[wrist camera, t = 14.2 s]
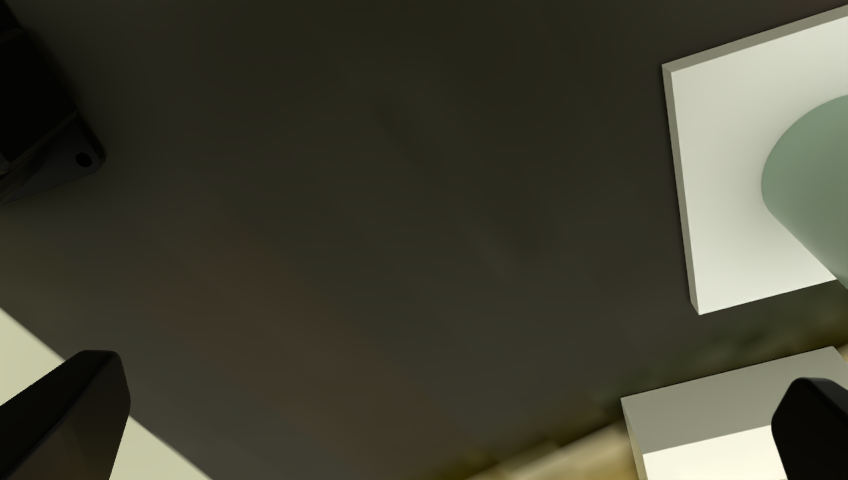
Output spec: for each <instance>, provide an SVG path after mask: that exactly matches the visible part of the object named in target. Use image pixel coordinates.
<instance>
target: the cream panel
mask: <svg viewBox="0 0 848 480" xmlns="http://www.w3.org/2000/svg"><path fill="white" fill-rule="evenodd" d="M662 71H663V79H664V88H665V96H666V104H667V112H668V120H669V128H670V136H671V144H672V152H673V161H674V169H675V177H676V185H677V193H678V201H679V209H680V217H681V225H682V234H683V242H684V250H685V258H686V266H687V274H688V282H689V290H690V299H691V303H692V304H693V306H694V308H695V309H696V311H697V312H698V314H699V315H701V314H704V313H708V312H712V311H716V310H720V309H724V308H727V307H731V306H735V305H739V304H743V303H747V302H750V301H754V300H758V299H762V298H766V297H770V296H773V295H777V294H781V293H785V292H789V291H793V290H796V289H800V288H804V287H808V286H812V285H816V284H819V283H823V282H827V281H831V280H835V279H837V278H836V277H835V276H834V275H833V274H832V273H831V272H830V271H829V270H828V269H827V268H825V267H824V266H823V265H822V264H821V263H820V262H819V261H818V260H817V259H816V258H815V257H814V256H813V255H812V254H811V253H810V252H809V251H808V250H807V249H806V248H805V247H804V246H803V245H802V244H801V243H800V242H799V241H798V240H797V239H796V238H795V237H794V236H793V235H792V234H791V233H790V232H789V231H788V230H787V229H786V228H785V227H784V226H783V225H782V224H781V223H780V222H779V221H778V220H777V219H776V218H775V217H774V216H773V215H772V214H771V213H770V212H769V210H768V209H767V207H766V205H765V203H764V200H763V196H762V190H761V182H762V174H763V170H764V167H765V164H766V162H767V159H768V157H769V155H770V153H771V151H772V149H773V148H774V146H775V145H776V143H777V142H778V141H779V139H780V138H781V137H782V136H783V134H784V133H785V132H786V131H787V130H788V129H789V128H790V127H791V126H792V125H793V124H794V123H795V122H796V121H798V120H799V119H800V118H801V117H803V116H804V115H805V114H807V113H808V112H810V111H811V110H813V109H814V108H816V107H818V106H820V105H822V104H824V103H826V102H828V101H830V100H833V99H835V98H838V97H841V96H845V95H848V5H845V6H842V7H839V8H836V9H833V10H829V11H826V12H823V13H820V14H817V15H814V16H811V17H808V18H805V19H802V20H799V21H795V22H792V23H789V24H786V25H783V26H780V27H777V28H774V29H771V30H768V31H764V32H761V33H758V34H755V35H752V36H749V37H746V38H743V39H740V40H737V41H734V42H730V43H727V44H724V45H721V46H718V47H715V48H712V49H709V50H706V51H703V52H700V53H696V54H693V55H690V56H687V57H684V58H681V59H678V60H675V61H672V62H669V63H665V64H662Z"/></svg>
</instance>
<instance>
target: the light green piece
mask: <svg viewBox="0 0 848 480" xmlns="http://www.w3.org/2000/svg"><path fill="white" fill-rule="evenodd" d="M761 190H762V196H763V200H764V203H765V205H766V207H767V209H768V210H769V212H770V213H771V214H772V215H773V216H774V217H775V218H776V219H777V220H778V221H779V222H780V223H781V224H782V225H783V226H784V227H785V228H786V229H787V230H788V231H789V232H790V233H791V234H792V235H793V236H794V237H795V238H796V239H797V240H798V241H799V242H800V243H801V244H802V245H803V246H804V247H805V248H806V249H807V250H808V251H809V252H810V253H811V254H812V255H813V256H814V257H815V258H816V259H817V260H818V261H819V262H820V263H821V264H822V265H823V266H824V267H825V268H827V269H828V270H829V271H830V272H831V273H832V274H833V275H834V276H835V277H836V278H837V279H838V280H839V281H840V282H841V283H842V284H843V285H844V286H845V287H846V288H847V289H848V95H845V96H841V97H838V98H835V99H833V100H830V101H828V102H826V103H824V104H822V105H820V106H818V107H816V108H814V109H813V110H811V111H810V112H808V113H807V114H805V115H804V116H803V117H801V118H800V119H799V120H798V121H796V122H795V123H794V124H793V125H792V126H791V127H790V128H789V129H788V130H787V131H786V132H785V133H784V134H783V136H782V137H781V138H780V139H779V141H778V142H777V143H776V145H775V146H774V148H773V149H772V151H771V153H770V155H769V157H768V159H767V162H766V164H765V167H764V170H763V174H762V182H761Z"/></svg>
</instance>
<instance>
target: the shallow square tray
mask: <svg viewBox="0 0 848 480" xmlns="http://www.w3.org/2000/svg"><path fill="white" fill-rule="evenodd" d="M799 377H817V378H827V379H830V380H832V381H834V382H836V383H837V384H839V385H841V386H842V387H844V388H845V389H847V390H848V363H847V362H846V361H845V360H844V359H843V357H842V356H841V355H840V354H839V353H838V352H837V350H836V349H835V348H834V347H833V346H830V347H826V348H822V349H818V350H814V351H810V352H806V353H802V354H798V355H794V356H790V357H786V358H782V359H778V360H773V361H769V362H765V363H761V364H757V365H753V366H749V367H745V368H741V369H737V370H733V371H729V372H725V373H721V374H716V375H712V376H708V377H704V378H700V379H696V380H692V381H688V382H684V383H680V384H676V385H672V386H668V387H664V388H659V389H655V390H651V391H647V392H643V393H639V394H635V395H631V396H627V397H623V398H620V399H621V403H622V408H623V412H624V416H625V421H626V425H627V430H628V434H629V438H630V443H631V447H632V451H633V456H634V460H635V464H636V469H637V473H638V477H639V480H788V479H787V477H786V474H785V471H784V468H783V465H782V462H781V459H780V457H779V454H778V451H777V448H776V445H775V442H774V439H773V436H772V432H771V420H772V416H773V414H774V412H775V410H776V409H777V407H778V405H779V403H780V401H781V400H782V398H783V396H784V394H785V393H786V391H787V389H788V387H789V385H790V384H791V382H792V381H793V380H795V379H796V378H799Z"/></svg>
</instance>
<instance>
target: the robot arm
mask: <svg viewBox="0 0 848 480" xmlns="http://www.w3.org/2000/svg"><path fill="white" fill-rule="evenodd" d="M76 110H77V109H76V106H75V104H74V103H73V102H72V100H71V99H70V97H69V96H68V94H67V93H66V91H65V90H64V88H63V87H62V85H61V84H60V82H59V81H58V79H57V78H56V76H55V75H54V73H53V72H52V71H51V69H50V68H49V66H48V65H47V63H46V62H45V60H44V59H43V57H42V56H41V54H40V53H39V51H38V50H37V48H36V47H35V45H34V44H33V42H32V41H31V39H30V38H29V37H28V35H27V34H26V33H24V32H22V31H21V30H20V28H19V27H18V25H17V24H16V22H15V21H14V19H13V18H12V16H11V15H10V13H9V12H8V10H7V9H6V7H5V6H4V5H3V3H2V2H1V0H0V205H2V204H5V203H8V202H11V201H14V200H17V199H20V198H23V197H26V196H28V195H31V194H34V193H37V192H40V191H43V190H46V189H49V188H52V187H55V186H58V185H60V184H63V183H66V182H69V181H72V180H75V179H78V178H81V177H84V176H87V175H89V174H92V173H94V172H96V171H97V170H98V169H99V168H100V167H101V166H102V165H103V163H104V162H105V155H104V152H103V150H102V149H101V147H100V146H99V144H98V143H97V141H96V140H95V138H94V137H93V135H92V134H91V132H90V131H89V130H88V128H87V127H86V125H85V124H84V122H83V121H82V119H81V118H80V116H79V115H78V113H77V112H76ZM81 153H85V154H87V155H89V156H90V157H91V159H92V162H89V161H86V160H85V159H84V158H83V157H82V155H81ZM130 403H131V400H130V393H129V389H128V385H127V381H126V377H125V373H124V369H123V365H122V361H121V358H120V356H119V355H118V353H116V352H114V351H106V350H83V351H81V352H79V353H77V354H75V355H74V356H72V357H71V358H70V359H68V360H67V361H65V362H64V363H62V364H61V365H59V366H58V367H56V368H55V369H54V370H52V371H51V372H49V373H48V374H46V375H45V376H43V377H42V378H41V379H39V380H38V381H36V382H35V383H33V384H32V385H30V386H29V387H27V388H26V389H25V390H23V391H22V392H20V393H19V394H17V395H16V396H14V397H13V398H11V399H10V400H8V401H7V402H6V403H4V404H3V405H1V406H0V480H109V478H110V475H111V472H112V468H113V465H114V462H115V459H116V455H117V452H118V449H119V445H120V442H121V438H122V436H123V432H124V429H125V426H126V422H127V419H128V416H129V411H130ZM771 432H772V436H773V439H774V442H775V445H776V448H777V451H778V454H779V457H780V459H781V462H782V465H783V468H784V471H785V474H786V477H787V479H788V480H848V390H847V389H845V388H844V387H842V386H841V385H839V384H837V383H836V382H834V381H832V380H830V379H827V378H817V377H799V378H796V379H795V380H793V381H792V382H791V384H790V385H789V387H788V389H787V391H786V393H785V394H784V396H783V398H782V400H781V401H780V403H779V405H778V407H777V409H776V410H775V412H774V414H773V416H772V420H771Z"/></svg>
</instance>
